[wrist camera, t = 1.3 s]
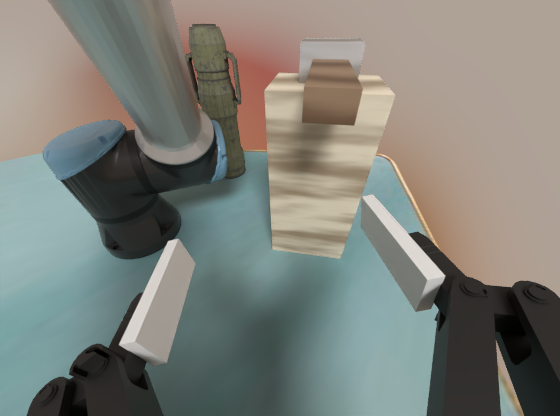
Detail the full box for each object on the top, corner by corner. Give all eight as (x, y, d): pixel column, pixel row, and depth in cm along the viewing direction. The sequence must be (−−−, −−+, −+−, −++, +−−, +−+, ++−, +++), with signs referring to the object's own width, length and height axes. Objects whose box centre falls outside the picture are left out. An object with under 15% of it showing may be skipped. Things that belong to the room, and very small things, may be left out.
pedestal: (340, 258, 42) (395, 95, 22) (272, 249, 44) (264, 90, 23) (338, 223, 49) (378, 75, 29) (280, 216, 51) (279, 72, 31)
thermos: (216, 163, 70) (182, 23, 46) (251, 163, 70) (235, 23, 46) (209, 178, 63) (165, 25, 39) (248, 178, 63) (228, 24, 39)
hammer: (374, 126, 16) (394, 62, 13) (282, 121, 16) (283, 60, 14) (352, 74, 29) (359, 38, 27) (302, 73, 30) (304, 38, 28)
